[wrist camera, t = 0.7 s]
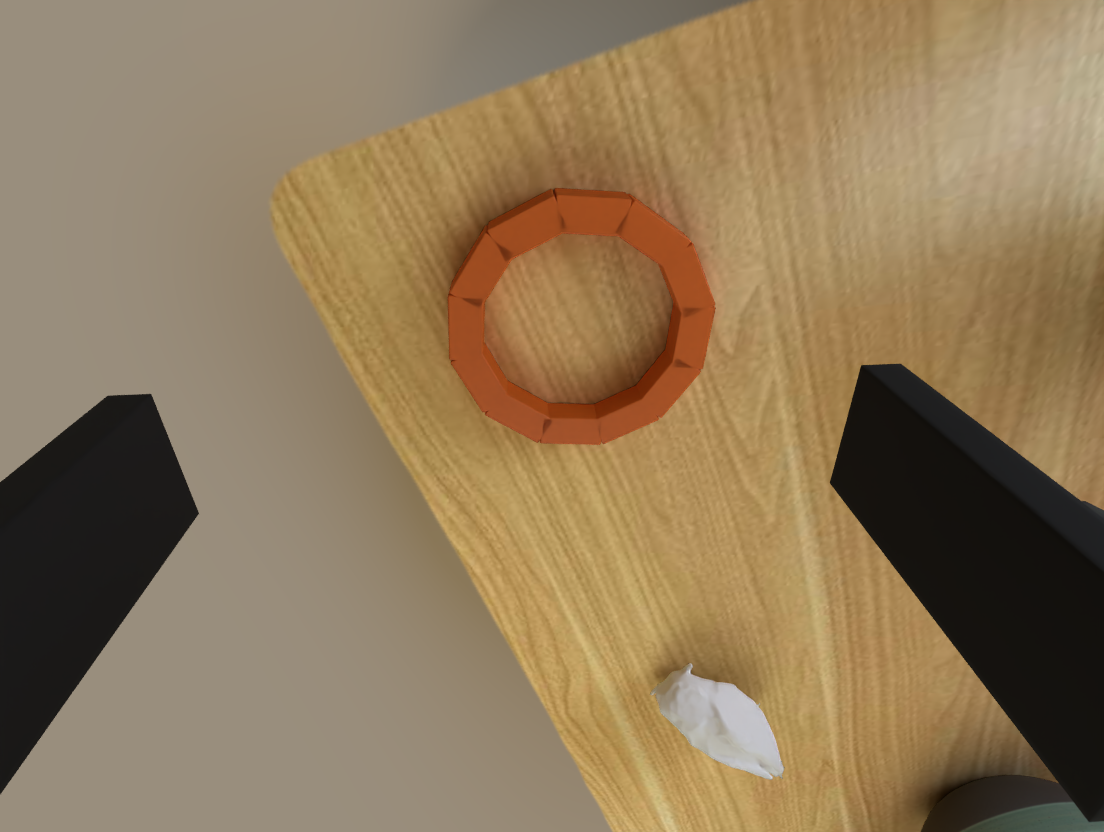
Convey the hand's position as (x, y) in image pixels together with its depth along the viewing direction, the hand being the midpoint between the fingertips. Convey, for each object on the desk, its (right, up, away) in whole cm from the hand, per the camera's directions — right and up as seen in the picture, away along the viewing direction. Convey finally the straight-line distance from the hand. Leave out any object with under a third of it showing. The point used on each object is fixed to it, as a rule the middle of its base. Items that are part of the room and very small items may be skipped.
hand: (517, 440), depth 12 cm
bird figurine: (+12, -20, +34) cm, 41 cm away
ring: (+2, +5, +18) cm, 19 cm away
